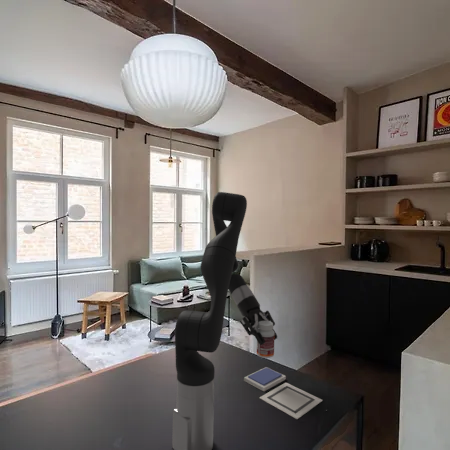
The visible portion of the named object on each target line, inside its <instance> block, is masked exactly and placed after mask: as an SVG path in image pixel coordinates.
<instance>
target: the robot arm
mask: <svg viewBox="0 0 450 450" xmlns="http://www.w3.org/2000/svg"><path fill="white" fill-rule="evenodd" d="M247 206H248V201H247V197H246V196H245V195H242V194H240V193H239V194H238V193H232V192H224V191H223V192H222V191H218V192H216V193H215V194H214V197H213V200H212V206H211V215H212V221H213V228H214V232H215V236H214V237H213V238H212V239H211V240H210V241H209V242H208V243H207V245H206V246H205V248H204V251H203V256H202V258H201V262H200V271H201V274H202V277H203V280H204V283H205V285H206V287H207V290H208V293H209V296H210V309H209V311H199V310H186V309H185V310H182V311H181V312H180V313H179V314H178V316H177V319H176V321H175V327H174V328H175V329H174V347H175V370H176V407H175V408H173V409H172V439H171V440H172V444H171V445H172V446H171V447H172V448H173V450H212V449H213V448H214V417H215V415H214V412H215V410H214V409H215V408H214V407H215V373H216V372H215V371H216V370H215V365H214V363H213V362H212V361H211V360H209V359H208V358H207V357H205V356H203V355H202V354H200V353H199V352H202V353H211V354H212V353H214V352H216V351H217V349H218V348H219V345H220V342H221V338H222V334H223V333H222V332H223V325H224V319H225V314H226V312H225V311H226V305H227V299H228V293H229V292H230V294H231V295H230V296H231V297H232V299H233V301H234V303H235V305H236V306H237V308H238V310H239V312H240V314H241V315H242V316H243V317H242V318H241V320H240V321H239V322H240V324H241V326H242V327H243V328H244V330H245V332H246V333H247V335H248V336H253V337H254V338H255V340H256V342H257V341H258V343H259V344H260V345H263V344H264V343H265V340H264V338H263V337H262V335H261V333H260V332H259V328H258V326H259V322H260V321H270V322H272V323H273V327H274V326H275V325H276V323H275V321H274V318H273V317H272V315H271V313H270V311H269V310H265V311H262V309H261V305H260V303H259V301H258V299H257V298H256V296H255V295H254V293H253V291H252V289H251V288H250V287H249V286H248V284H247V283H246V281H245V279H244V278H243V276H242V275H241V274H239V273H238V274H236V273H235V274H233V272H236V271H237V270H238V268H239V261H238V259H237V248H238V245H239V238H240V233H241V231H242V226H243V225H244V220H245V217H246V213H247V208H248V207H247ZM226 222H230V223H229V224H228V225H227V224H226ZM272 330H273V331H274V341H275V340H276V339H278V335H277V332H276V331H275V329H274V328H273V329H272Z"/></svg>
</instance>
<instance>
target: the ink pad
mask: <svg viewBox="0 0 450 450" xmlns="http://www.w3.org/2000/svg"><path fill="white" fill-rule="evenodd" d="M286 378H287V376H286V375H285V374H282V373H280V372H278V371H277V370H276V371H275V370H273V369H271V368H270V367H267V366H265V367H264V368H261V369H259V370H257V371H255V372H253V373H251V374H248V375H247V376H246V375H245V376H244V378H243V382H245V383H247V384H248V385H251V386H253V387H254V388H257V389H258V390H260V391H262V392H266V391H267V390H270V389H271V388H273V387H275V386H277V385H279V384H280V383H282V382H284V381H285V380H286Z"/></svg>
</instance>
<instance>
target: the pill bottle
mask: <svg viewBox="0 0 450 450" xmlns="http://www.w3.org/2000/svg"><path fill="white" fill-rule="evenodd" d="M258 328H259V332H260V333H261V335H262V337H263V338H264V340H265V343H264V344H263V345H260V344H259V343H258V341H257V340H256V355H257V356H258V357H259V358H263V359H271V358H273V357H274V356H275V340H274V331H275V330H274V331H273V330H272V329H274V326H273V323H272V322H271V321H260V322H259V326H258Z"/></svg>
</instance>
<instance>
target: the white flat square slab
mask: <svg viewBox="0 0 450 450" xmlns="http://www.w3.org/2000/svg"><path fill="white" fill-rule="evenodd" d="M258 399H260V400H261V401H263V402H265V403H267V404H269V405H271V406H272V407H274V408H276V409H278V410H280V411H281V412H284V413H285V414H287V415H289V416H290V417H292V418H294V419H295V420H298V419H300V418H301V417H302V416H304V415H306V413H308V412H309V411H311V410H312V409H313V408H315V407H317V405H318V404H321V402H323V399H321V398H320V397H317V396H315V395H313V394H311V393H309V392H307V391H305V390H303V389H300V388H298V387H296V386H294V385H292V384H290V383H288V382H284V383H283V384H281V385H279V386H276V387H275V388H274V389H271V390H270V391H269V392H267V393H264V394H263V395H261V396H260V397H259V398H258Z"/></svg>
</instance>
